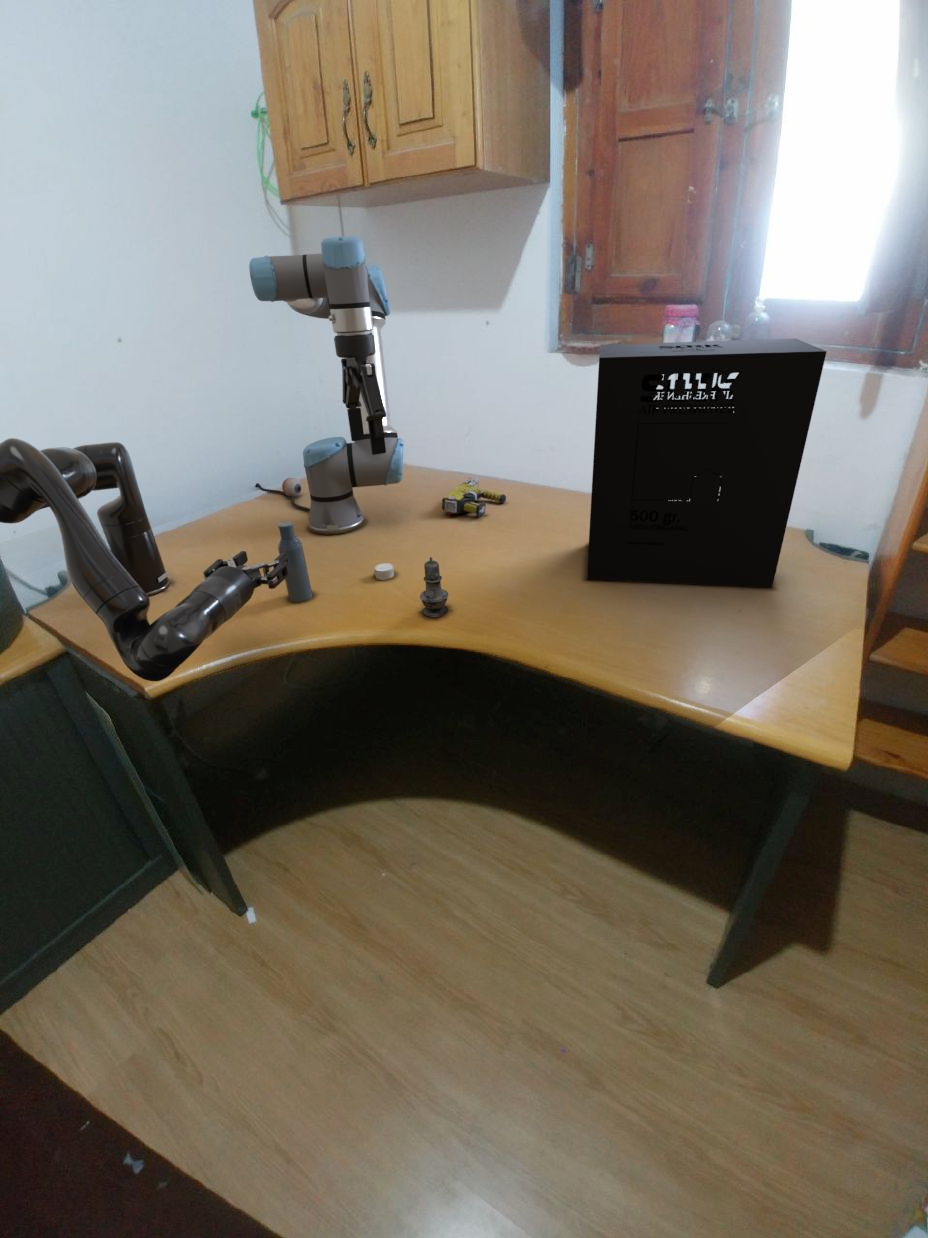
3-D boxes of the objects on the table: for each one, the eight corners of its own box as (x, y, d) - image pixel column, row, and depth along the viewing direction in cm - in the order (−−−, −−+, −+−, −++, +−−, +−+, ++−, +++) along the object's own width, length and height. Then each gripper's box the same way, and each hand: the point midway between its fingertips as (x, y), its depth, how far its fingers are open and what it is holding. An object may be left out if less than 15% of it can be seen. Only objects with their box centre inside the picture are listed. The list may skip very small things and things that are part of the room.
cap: (394, 571, 141) (393, 562, 140) (394, 579, 138) (392, 570, 136) (376, 572, 141) (374, 563, 140) (375, 580, 137) (373, 571, 136)
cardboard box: (752, 548, 142) (795, 338, 119) (772, 587, 124) (826, 351, 102) (589, 543, 149) (600, 344, 127) (586, 579, 132) (599, 357, 110)
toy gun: (514, 482, 184) (468, 475, 188) (491, 505, 164) (440, 497, 168) (513, 497, 186) (467, 490, 190) (490, 522, 166) (439, 513, 170)
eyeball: (294, 500, 190) (290, 481, 187) (280, 497, 193) (276, 479, 190) (307, 494, 194) (304, 476, 191) (294, 492, 197) (290, 474, 194)
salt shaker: (446, 618, 120) (442, 563, 114) (417, 616, 122) (412, 562, 116) (452, 604, 125) (448, 551, 119) (425, 602, 126) (420, 550, 120)
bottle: (303, 603, 129) (288, 529, 121) (284, 600, 131) (267, 527, 123) (316, 593, 133) (302, 520, 125) (298, 590, 135) (282, 518, 127)
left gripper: (253, 579, 100) (295, 539, 114) (177, 575, 103) (227, 537, 116) (263, 617, 104) (302, 575, 117) (189, 612, 107) (236, 571, 120)
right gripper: (317, 331, 122) (334, 437, 133) (354, 339, 103) (370, 463, 113) (352, 328, 125) (366, 432, 136) (395, 335, 105) (407, 456, 116)
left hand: (265, 556), depth 117 cm, fingers open, 8 cm apart
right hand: (368, 446), depth 124 cm, fingers open, 13 cm apart
